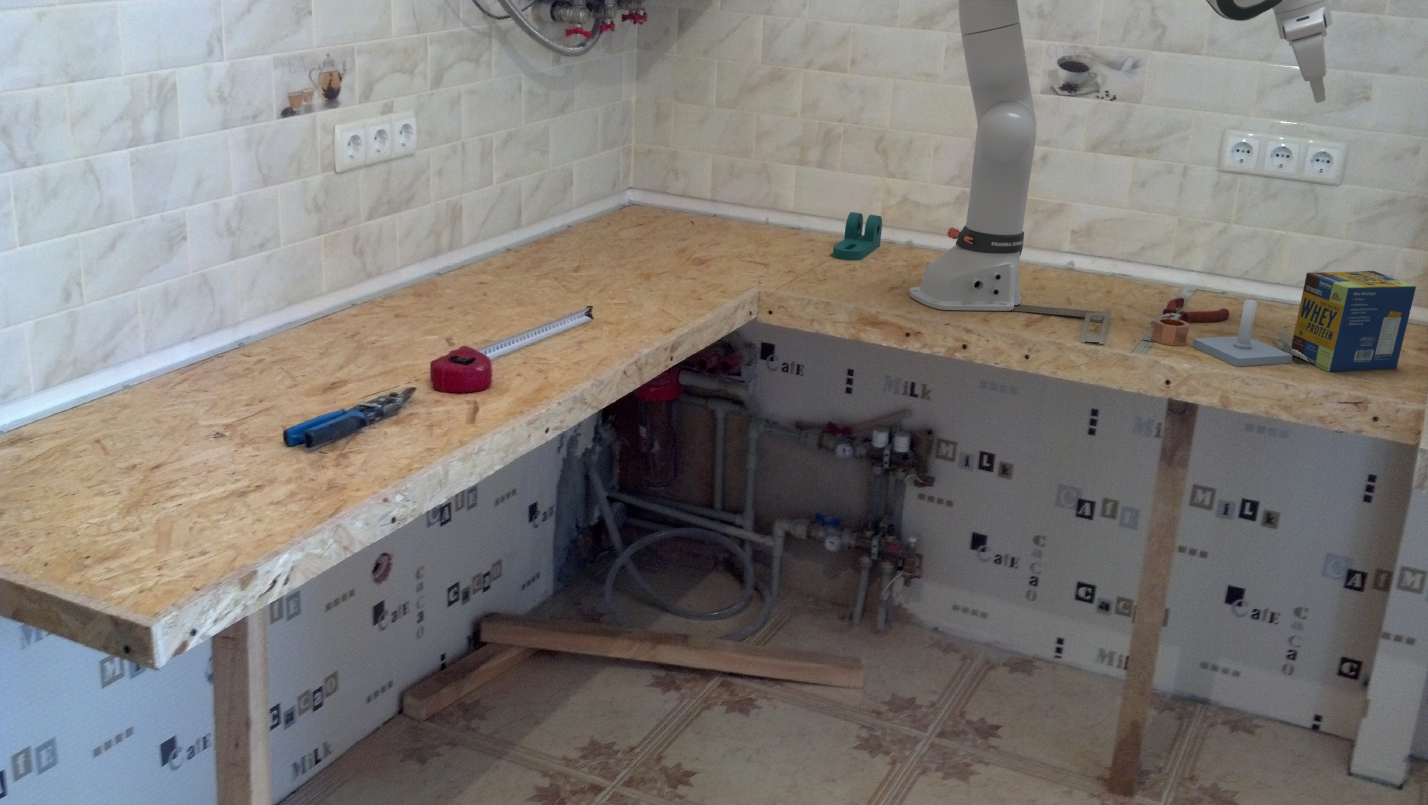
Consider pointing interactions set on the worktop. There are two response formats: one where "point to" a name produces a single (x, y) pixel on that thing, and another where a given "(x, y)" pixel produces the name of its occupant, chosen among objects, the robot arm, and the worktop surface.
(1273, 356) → the shaft block
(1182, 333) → the ring
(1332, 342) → the protein box
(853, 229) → the bracket
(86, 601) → the worktop surface
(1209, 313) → the pliers
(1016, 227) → the robot arm
